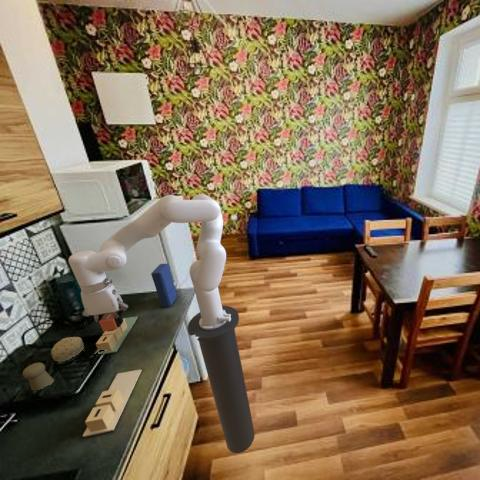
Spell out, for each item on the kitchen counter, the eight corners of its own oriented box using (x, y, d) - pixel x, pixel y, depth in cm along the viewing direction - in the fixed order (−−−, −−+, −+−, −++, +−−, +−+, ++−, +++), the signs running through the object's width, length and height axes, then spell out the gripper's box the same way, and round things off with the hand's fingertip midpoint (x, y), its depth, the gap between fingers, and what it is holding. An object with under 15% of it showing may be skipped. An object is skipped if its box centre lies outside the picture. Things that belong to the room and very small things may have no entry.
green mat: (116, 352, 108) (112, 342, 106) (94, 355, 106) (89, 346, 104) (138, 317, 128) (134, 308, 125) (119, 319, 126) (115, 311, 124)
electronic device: (168, 296, 143) (158, 263, 135) (178, 295, 143) (169, 263, 135) (160, 307, 134) (149, 273, 126) (171, 306, 134) (161, 272, 126)
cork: (55, 379, 97) (41, 356, 92) (59, 387, 94) (46, 364, 89) (32, 391, 92) (17, 368, 88) (36, 401, 89) (20, 377, 85)
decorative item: (68, 372, 104) (77, 356, 101) (40, 363, 101) (48, 345, 98) (85, 353, 112) (94, 338, 110) (60, 344, 109) (68, 328, 107)
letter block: (116, 329, 99) (112, 319, 97) (103, 331, 98) (98, 321, 96) (122, 321, 103) (118, 311, 101) (108, 323, 102) (104, 313, 100)
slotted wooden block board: (113, 430, 80) (107, 419, 78) (83, 437, 78) (76, 426, 76) (141, 370, 100) (137, 360, 97) (118, 374, 98) (113, 364, 96)
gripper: (126, 276, 98) (141, 315, 105) (73, 283, 94) (92, 323, 102) (117, 287, 91) (133, 328, 99) (59, 295, 88) (81, 337, 95)
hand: (112, 325), depth 100 cm, fingers closed on letter block, 4 cm apart
